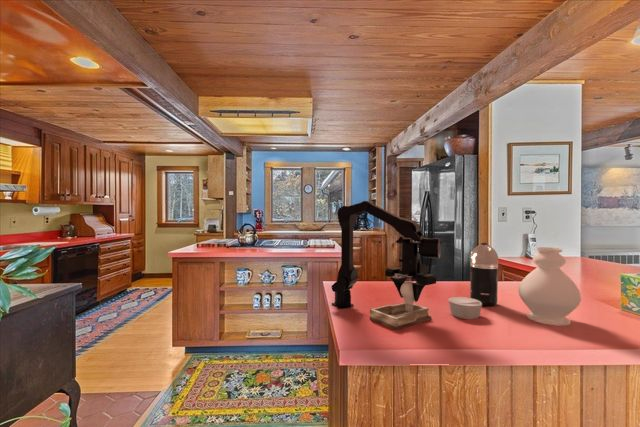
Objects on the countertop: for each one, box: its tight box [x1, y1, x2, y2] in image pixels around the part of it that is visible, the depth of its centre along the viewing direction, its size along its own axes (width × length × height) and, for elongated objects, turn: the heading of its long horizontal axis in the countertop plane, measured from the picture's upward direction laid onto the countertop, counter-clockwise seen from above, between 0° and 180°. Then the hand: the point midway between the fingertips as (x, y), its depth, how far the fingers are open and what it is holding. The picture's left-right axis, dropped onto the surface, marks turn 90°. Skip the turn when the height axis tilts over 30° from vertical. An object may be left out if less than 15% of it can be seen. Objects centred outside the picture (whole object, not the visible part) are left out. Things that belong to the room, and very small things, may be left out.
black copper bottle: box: [469, 242, 499, 307], centre depth 132 cm, size 10×10×25 cm
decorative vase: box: [518, 246, 582, 327], centre depth 113 cm, size 18×18×25 cm
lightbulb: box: [400, 280, 415, 312], centre depth 115 cm, size 6×6×11 cm
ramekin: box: [448, 296, 483, 320], centre depth 117 cm, size 11×11×5 cm
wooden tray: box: [369, 302, 432, 331], centre depth 113 cm, size 12×18×4 cm, turn 124°
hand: (409, 299), depth 115 cm, fingers closed on lightbulb, 6 cm apart
